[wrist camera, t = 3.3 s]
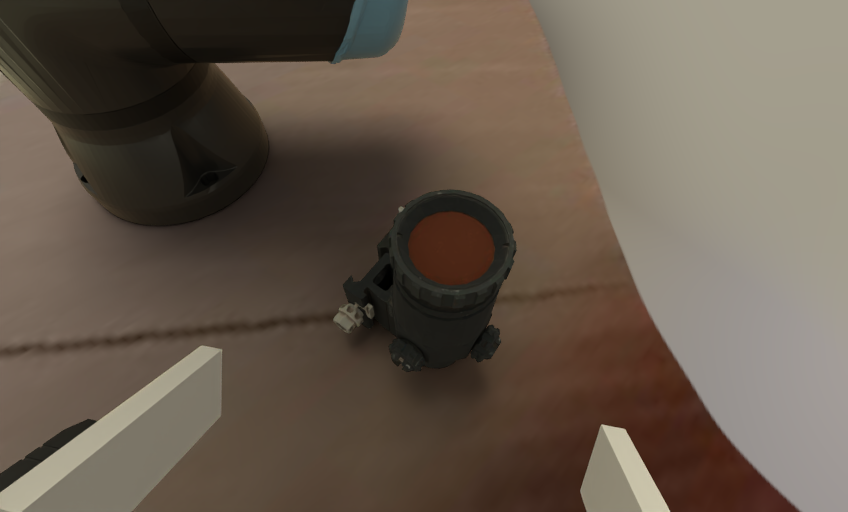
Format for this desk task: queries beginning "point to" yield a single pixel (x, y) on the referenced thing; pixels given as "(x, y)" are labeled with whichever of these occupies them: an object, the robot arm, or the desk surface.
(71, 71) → the robot arm
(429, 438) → the desk surface
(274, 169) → the desk surface
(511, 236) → the scope
